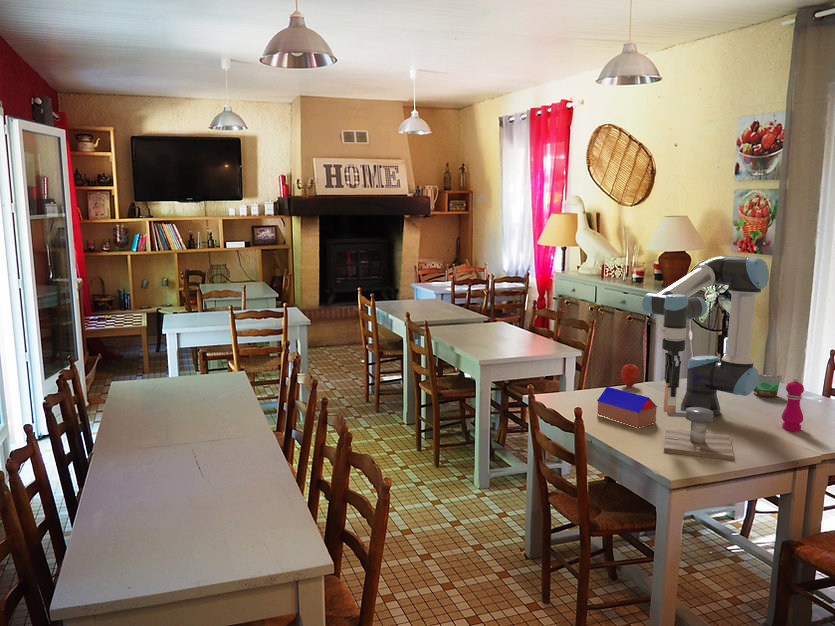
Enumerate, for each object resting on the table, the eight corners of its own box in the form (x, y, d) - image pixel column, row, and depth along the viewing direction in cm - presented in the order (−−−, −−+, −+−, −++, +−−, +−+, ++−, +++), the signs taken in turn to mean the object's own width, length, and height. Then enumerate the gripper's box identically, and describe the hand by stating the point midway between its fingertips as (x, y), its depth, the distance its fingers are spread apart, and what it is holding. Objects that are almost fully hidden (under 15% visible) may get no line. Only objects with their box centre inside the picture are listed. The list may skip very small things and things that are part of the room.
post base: (665, 432, 257) (666, 408, 255) (729, 439, 249) (730, 414, 247) (663, 452, 236) (665, 425, 235) (733, 460, 229) (735, 433, 227)
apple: (641, 389, 316) (642, 366, 315) (622, 389, 317) (623, 366, 315) (636, 384, 325) (637, 362, 323) (618, 384, 325) (619, 362, 324)
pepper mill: (791, 432, 256) (795, 380, 253) (776, 426, 263) (780, 376, 260) (806, 430, 258) (811, 379, 255) (791, 425, 265) (796, 374, 261)
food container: (752, 397, 302) (753, 375, 300) (749, 393, 308) (751, 372, 306) (783, 399, 298) (785, 377, 297) (780, 396, 304) (782, 374, 303)
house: (615, 411, 284) (616, 384, 282) (656, 423, 268) (658, 394, 266) (596, 416, 277) (597, 388, 275) (637, 429, 261) (639, 400, 259)
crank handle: (709, 415, 245) (711, 384, 243) (715, 423, 236) (717, 391, 234) (661, 413, 248) (663, 382, 246) (665, 420, 239) (667, 388, 237)
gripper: (657, 333, 247) (654, 395, 251) (668, 343, 231) (664, 410, 235) (679, 334, 246) (675, 396, 250) (691, 344, 230) (687, 410, 233)
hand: (670, 403), depth 242 cm, fingers closed on crank handle, 4 cm apart
